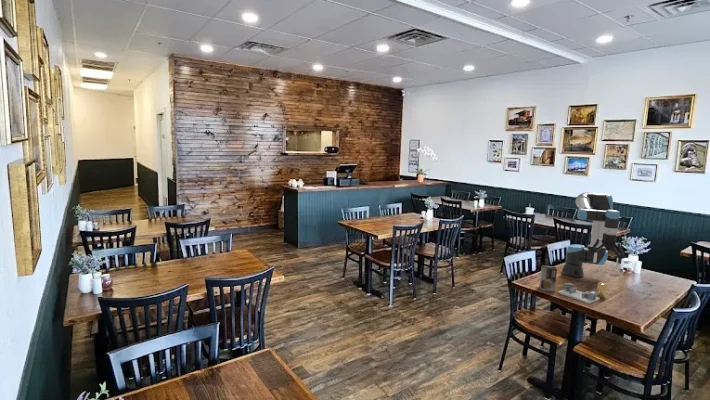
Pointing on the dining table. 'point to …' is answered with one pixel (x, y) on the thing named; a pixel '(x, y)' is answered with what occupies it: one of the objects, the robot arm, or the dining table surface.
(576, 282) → the dining table surface
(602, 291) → the coupler
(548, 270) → the coffee box
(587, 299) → the shaft bench
